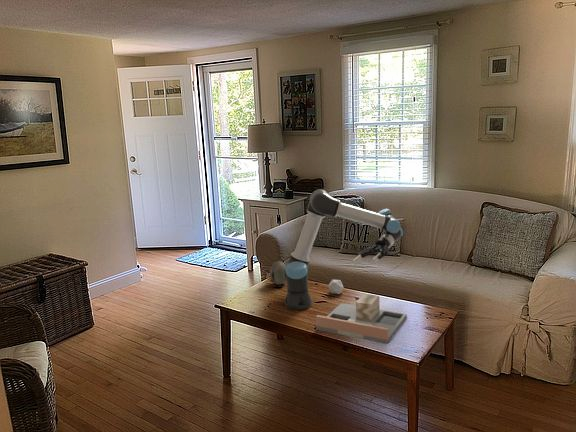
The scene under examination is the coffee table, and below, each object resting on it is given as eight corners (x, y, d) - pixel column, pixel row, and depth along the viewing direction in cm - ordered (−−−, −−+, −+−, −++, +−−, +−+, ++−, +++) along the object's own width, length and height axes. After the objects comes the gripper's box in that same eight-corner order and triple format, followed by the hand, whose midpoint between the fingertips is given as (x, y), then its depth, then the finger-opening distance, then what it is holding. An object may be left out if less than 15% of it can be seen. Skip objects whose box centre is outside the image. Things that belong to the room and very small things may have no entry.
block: (356, 316, 232) (355, 302, 230) (364, 307, 242) (364, 293, 240) (371, 319, 228) (370, 304, 226) (379, 310, 238) (379, 295, 236)
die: (345, 292, 272) (338, 277, 275) (345, 290, 264) (338, 275, 267) (333, 298, 272) (326, 283, 275) (333, 296, 263) (325, 281, 266)
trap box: (316, 329, 225) (315, 316, 224) (341, 306, 250) (341, 294, 249) (387, 344, 207) (387, 329, 205) (406, 317, 232) (406, 304, 230)
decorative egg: (292, 283, 290) (291, 260, 287) (280, 288, 282) (278, 265, 278) (279, 279, 298) (277, 257, 295) (266, 285, 289) (265, 262, 286)
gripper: (405, 247, 247) (385, 266, 234) (369, 250, 266) (349, 269, 253) (400, 234, 246) (380, 254, 232) (364, 239, 265) (343, 257, 251)
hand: (363, 261), depth 243 cm, fingers open, 13 cm apart
